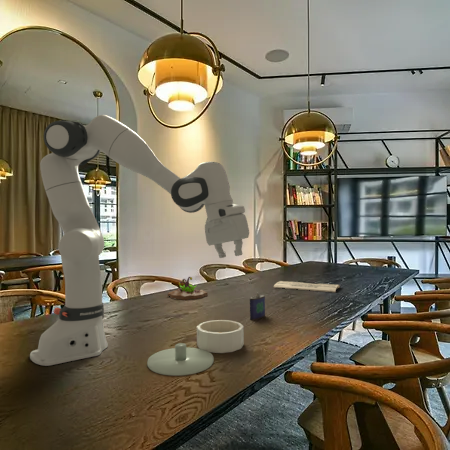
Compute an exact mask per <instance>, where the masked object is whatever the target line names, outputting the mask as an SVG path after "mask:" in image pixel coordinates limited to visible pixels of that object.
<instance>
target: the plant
mask: <svg viewBox="0 0 450 450" xmlns="http://www.w3.org/2000/svg"><path fill="white" fill-rule="evenodd" d="M189 280H190V281H192V280H193V277H192V276H188V278H187V279H186V278H183V279H181V281H179V282H178V285H179V288H177V289H175V290H173V291H170V292H168V293H167V297H168V296H170V297H169V298H170V299H172V298H176V299H175V300H180V299H181V301H189V299H193V300H199V299H203V298H205V297H208V292H207V291H205V290H203V289H196V287H197V285H193V284H190V283H189V282H190V281H189ZM182 284H183V285H182ZM198 298H199V299H198Z"/></svg>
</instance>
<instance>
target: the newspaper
mask: <svg viewBox="0 0 450 450" xmlns="http://www.w3.org/2000/svg"><path fill="white" fill-rule="evenodd" d="M340 286H341V285H340V284H334V283H333V284H331V283H317V282H302V281H301V282H300V281H290V280H289V281H287V280H286V281H284V280H279V281H277V282H276V283H274V285H273V288H274V289H282V288H285V290H296V289H298V290H299V291H309V290H310V291H313V292H323V293H325V292H326V293H336V292H337V291H336V290H337V289H340Z"/></svg>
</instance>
